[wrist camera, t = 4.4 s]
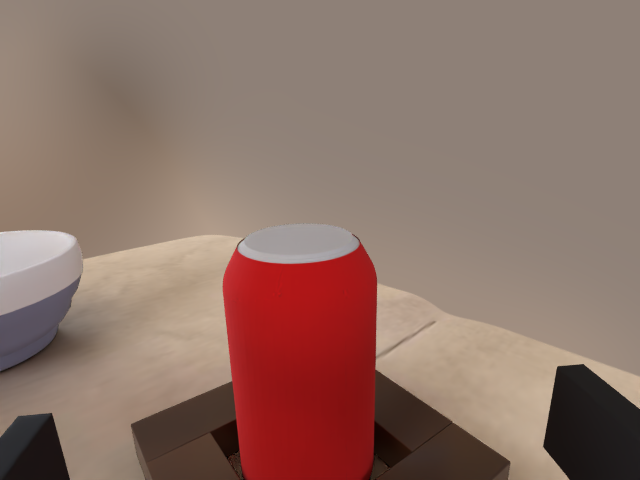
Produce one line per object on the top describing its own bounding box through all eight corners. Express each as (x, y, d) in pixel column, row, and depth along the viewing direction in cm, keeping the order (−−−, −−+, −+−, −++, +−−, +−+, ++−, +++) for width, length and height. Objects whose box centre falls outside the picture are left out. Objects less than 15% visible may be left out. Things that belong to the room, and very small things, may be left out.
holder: (136, 455, 21) (130, 423, 20) (331, 364, 28) (330, 339, 27) (250, 757, 11) (244, 713, 10) (506, 496, 18) (511, 461, 17)
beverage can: (390, 524, 17) (400, 257, 13) (241, 550, 16) (209, 271, 12) (356, 420, 23) (356, 214, 19) (245, 435, 22) (224, 222, 18)
